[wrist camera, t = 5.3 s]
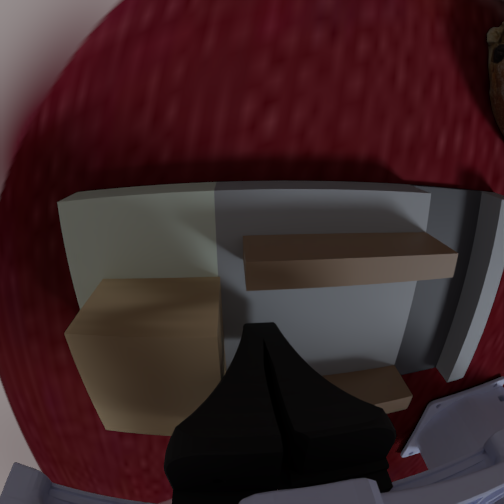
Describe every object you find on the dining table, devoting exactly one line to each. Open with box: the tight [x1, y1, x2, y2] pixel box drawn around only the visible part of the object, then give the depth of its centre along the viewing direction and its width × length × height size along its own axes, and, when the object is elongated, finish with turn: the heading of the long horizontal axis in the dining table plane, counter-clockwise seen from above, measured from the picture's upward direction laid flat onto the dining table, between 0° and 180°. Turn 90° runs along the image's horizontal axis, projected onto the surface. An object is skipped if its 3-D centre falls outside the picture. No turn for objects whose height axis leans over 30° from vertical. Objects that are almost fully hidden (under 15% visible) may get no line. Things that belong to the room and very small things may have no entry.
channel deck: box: [57, 181, 504, 414], centre depth 14 cm, size 22×12×4 cm, turn 90°
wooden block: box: [64, 277, 226, 436], centre depth 12 cm, size 5×5×4 cm
